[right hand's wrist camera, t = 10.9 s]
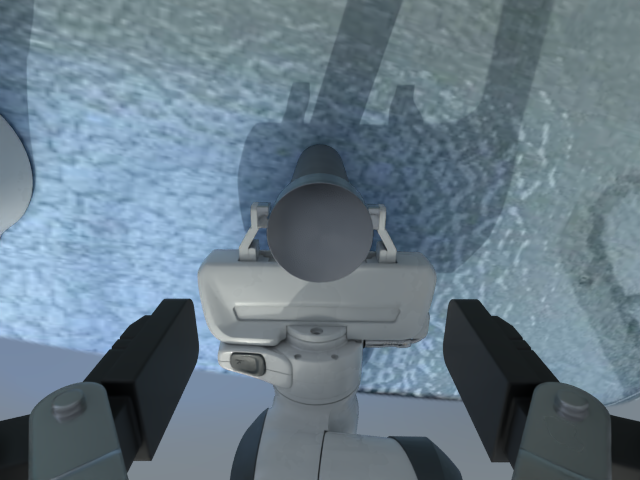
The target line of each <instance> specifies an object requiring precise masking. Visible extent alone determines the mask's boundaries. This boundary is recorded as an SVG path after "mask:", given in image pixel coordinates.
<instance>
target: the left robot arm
mask: <svg viewBox="0 0 640 480" xmlns="http://www.w3.org/2000/svg"><path fill="white" fill-rule="evenodd" d="M32 189H33V177H32V170H31V165H30V162H29V159H28V156H27V153H26V151H25V148H24V146H23V144H22V143H21V141H20V139H19V137H18V136H17V134H16V133H15V131H14V130H13V129H12V127H11V126H10V125H9V124H8V122H7V121H6V120H5V119H4V118H3V117H2V116H1V115H0V237H1V235H2V233H3V232H4V231H5V230H7V229H8V228H9V227H11V226H12V225H13V224H15V223H16V222H17V221H18V220H19V219H20V218H21V217H22V215H23V214H24V213H25V211H26V209H27V207H28V205H29V203H30V200H31V196H32ZM366 206H367V209H368V211H369V213H370V216H371V219H372V223H373V229H374V230H377V231H378V233H379V235H380V237H381V239H382V241H383V242H382V241H377V243H376V251H369V254H368V255H367V257H366V259H365V260H364V262H363V263H362V264H361V265H360V266H359V267H358V268H357V269H356V270H355V271H354V272H352V273H351V274H349V275H348V276H346V277H344V278H341V279H339V280H336V281H332V282H325V283H314V282H308V281H304V280H301V279H299V278H296V277H294V276H292V275H291V274H289V273H288V272H286V271H285V270H284V269H283V268H282V267H281V266H280V265H279V264H278V263H277V262H276V260H275V259H274V257H273V255H272V254H271V251H270V250H260V246H259V240H258V239H254V240H253V238H254V237H255V235H256V233H257V231H258V230H259V228H267V223H268V219H269V216H270V214H271V213H270V211H271V203H267V202H253V203H252V205H251V226H250V228H249V230H248V232H247V234H246V235H245V237H244V239H243V241H242V243H241V245H240V246H239V249H215V250H213V251H212V252H211V253H210V254H209V255H208V256H207V257H206V258H205V260H204V261H203V262H202V264H201V266H200V268H199V270H198V287H199V293H200V299H201V304H202V308H203V312H204V316H205V320H206V323H207V326H208V328H209V330H210V331H211V333H212V334H213V335H214V336H215V337H216V338H217V339H218V340H220V345H219V350H218V362H219V365H220V366H221V367H222V368H224V369H227V370H230V371H234V372H237V373H241V374H245V375H248V376H251V377H254V378H257V379H260V380H263V381H266V382H268V383H271V384H273V387H274V390H275V396H274V399H273V405H272V408H267V409H266V410H265V411H263V412H262V413H261V414H260V415H259V416H258V418H257V419H256V420H255V421H254V422H253V423H252V425H251V426H250V427H249V428H248V429H247V431H246V432H245V434H244V435H243V437H242V439H241V441H240V443H239V446H238V448H237V451H236V454H235V457H234V461H233V465H232V470H231V476H230V480H462V476H461V473H460V471H459V469H458V468H457V467H456V466H455V464H454V463H453V462H452V461H451V460H450V459H449V458H448V456H447V455H446V454H445V453H444V452H443V451H442V450H441V449H439V447H438V446H436V445H435V444H434V443H433V442H432V441H431V440H429V439H428V438H427V437H402V436H389V437H387V438H386V437H377V436H368V435H358V434H357V425H358V415H359V406H358V401H357V397H356V393H357V391H358V388H359V385H360V381H361V371H362V356H363V348H364V347H374V348H379V347H398V348H406V347H410V346H411V344H412V343H416V342H418V341H420V340H422V339H423V338H425V337H426V335H427V333H428V327H429V320H430V315H429V309H430V305H431V302H432V298H433V294H434V290H435V285H436V278H437V276H436V272H435V270H434V268H433V266H432V264H431V263H430V262H429V260H428V259H427V258H426V257H425V256H424V255H423V254H422V253H420V252H397V250H396V248H395V246H394V244H393V242H392V240H391V238H390V236H389V234H388V232H387V230H386V228H385V222H386V207H385V205H384V204H366Z"/></svg>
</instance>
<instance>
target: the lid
mask: <svg viewBox="0 0 640 480" xmlns="http://www.w3.org/2000/svg"><path fill="white" fill-rule="evenodd" d="M267 242H268V246H269V249H270V251H271V254H272V255H273V257H274V259H275V260H276V262H277V263H278V264H279V265H280V266H281V267H282V268H283V269H284V270H285V271H286V272H288V273H289V274H291V275H292V276H294V277H296V278H299V279H301V280H304V281H308V282H314V283H325V282H332V281H336V280H339V279H341V278H344V277H346V276H348V275H349V274H351V273H352V272H354V271H355V270H356V269H357V268H358V267H359V266H360V265H361V264H362V263H363V262H364V260H365V259H366V257H367V255H368V254H369V251H370V249H371V246H372V242H373V223H372V219H371V216H370V213H369V211H368V209H367V206H366V204H365V202H364V200H363V198H362V196H361V194H360V193H359V192H358V190H357V189H356V188H355V187H354V186H353V185H352V184H350V183H349V182H348V181H346V180H344V179H342V178H340V177H338V176H335V175H331V174H326V173H315V174H309V175H305V176H302V177H300V178H298V179H296V180H294V181H292V182H291V183H290V184H288V185H287V186H286V187H285V188H284V189H283V190H282V192H281V193H280V194H279V196H278V198H277V200H276V202H275V204H274V206H273V209H272V211H271V214H270V216H269V219H268V223H267Z"/></svg>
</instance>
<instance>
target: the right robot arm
mask: <svg viewBox="0 0 640 480" xmlns="http://www.w3.org/2000/svg"><path fill="white" fill-rule="evenodd" d="M198 353H199V341H198V333H197V326H196V318H195V311H194V305H193V302H192V300H191V299H164V300H163V301H162V302H161V303H160V304H159V306H158V307H157V308H156V310H155V311H154V312H153V314H152V315H145V316H143V317H142V318H140V319H139V320H137V321H136V322H134V323H132V324H131V325H130V326H129V327H128V328H127V329H126V330H125V332H124V333H123V334H122V335H121V336H120V339H118V340H117V341H116V342H115V344H114V345H113V346H112V349H110V350H109V351H108V352H107V353H106V354H105V356H104V357H103V358H102V359H101V360H100V362H99V363H98V364H97V365H96V367H95V368H94V369H93V370H92V371H91V372H90V374H89V375H88V376H87V377H86V379H85V380H84V381H83V382H80V383H75V384H71V385H68V386H65V387H63V388H60V389H58V390H56V391H54V392H53V393H51V394H49V395H48V396H46V397H45V398H44V399H42V400H41V401H40V402H39V403H38V404H37V405H36V406H35V407H34V409H33V410H32V412H31V414H29V415H25V416H21V417H16V418H12V419H8V420H3V421H0V480H128V476H127V472H128V470H129V468H130V466H131V464H132V463H133V461H151V460H152V458H153V456H154V454H155V452H156V450H157V448H158V445H159V443H160V441H161V439H162V437H163V435H164V432H165V430H166V428H167V426H168V424H169V422H170V419H171V417H172V415H173V413H174V411H175V409H176V406H177V404H178V402H179V400H180V398H181V396H182V393H183V391H184V389H185V387H186V385H187V383H188V381H189V378H190V376H191V374H192V372H193V370H194V368H195V365H196V363H197V359H198ZM443 355H444V360H445V364H446V366H447V368H448V370H449V373H450V375H451V377H452V379H453V381H454V383H455V385H456V388H457V390H458V392H459V394H460V396H461V398H462V400H463V402H464V405H465V407H466V409H467V411H468V413H469V415H470V417H471V420H472V422H473V424H474V426H475V428H476V430H477V432H478V434H479V437H480V439H481V441H482V443H483V445H484V447H485V449H486V451H487V454H488V456H489V458H490V460H491V462H510V464H511V466H512V468H513V470H514V472H513V476H512V480H640V422H639V421H635V420H630V419H626V418H621V417H617V416H613V415H610V414H609V412H608V410H607V409H606V407H605V406H604V405H603V404H602V403H601V402H600V401H599V400H598V399H596V398H595V397H594V396H592V395H591V394H589V393H587V392H586V391H584V390H582V389H580V388H577V387H575V386H572V385H569V384H565V383H560V382H559V381H558V379H557V378H556V377H555V376H554V375H553V373H552V372H551V371H550V370H549V369H548V367H547V366H546V365H545V364H544V363H543V362H542V360H541V359H540V358H539V357H538V356H537V354H536V353H535V352H534V351H533V350H531V347H530V346H529V345H528V344H527V342H526V341H525V340H523V338H522V336H521V335H520V334H519V333H518V332H517V331H516V329H515V328H514V327H513V326H512V325H510V324H509V323H507V322H506V321H504V320H503V319H501V318H500V317H498V316H491V315H490V314H489V312H488V311H487V310H486V309H485V307H484V306H483V305H482V303H481V302H480V301H479V300H477V299H452V300H451V301H450V302H449V305H448V312H447V319H446V326H445V333H444V341H443Z"/></svg>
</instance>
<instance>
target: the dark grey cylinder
mask: <svg viewBox="0 0 640 480" xmlns="http://www.w3.org/2000/svg"><path fill="white" fill-rule="evenodd" d="M315 173H326V174H331V175H335V176H338V177H340V178H342V179H344V180H346V181H348V182H349V180H348V178H347V175H346V172H345V169H344V166H343V163H342V160H341V157H340V156H339V154H338V153H337V152H336V151H335V150H334V149H333V148H331V147H329V146H327V145H313V146H311V147H309V148H307V149H306V150H305V151H304V152H303V153H302V154H301V156H300V157H299V160H298V163H297V166H296V169H295V172H294V175H293V177H292V180H291V182H292V181H294V180H296V179H298V178H300V177H302V176H305V175H309V174H315Z"/></svg>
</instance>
